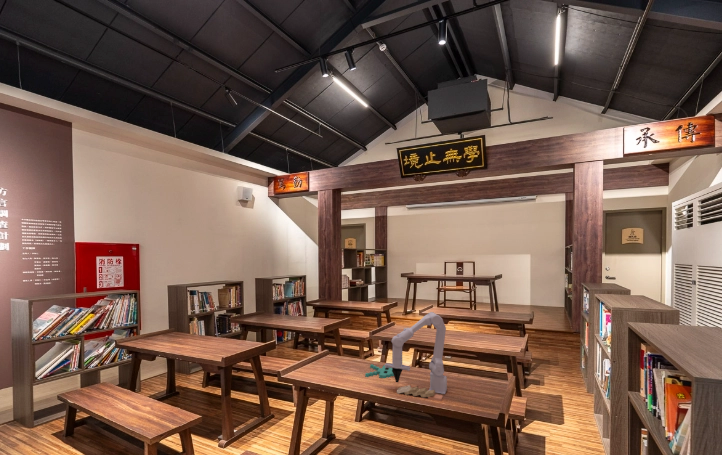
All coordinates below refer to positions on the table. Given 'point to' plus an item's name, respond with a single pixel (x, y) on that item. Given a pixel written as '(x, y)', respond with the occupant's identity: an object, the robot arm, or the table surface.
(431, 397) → the domino
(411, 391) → the domino
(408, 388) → the white domino
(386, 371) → the alien figure
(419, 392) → the domino
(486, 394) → the table surface
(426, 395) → the domino
